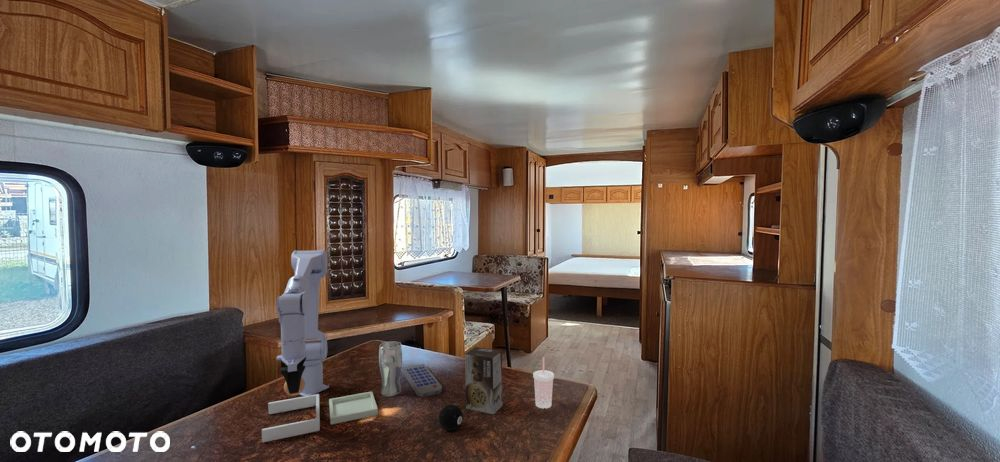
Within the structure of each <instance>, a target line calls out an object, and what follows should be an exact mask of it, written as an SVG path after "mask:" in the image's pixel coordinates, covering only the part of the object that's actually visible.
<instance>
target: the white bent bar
mask: <svg viewBox="0 0 1000 462" xmlns="http://www.w3.org/2000/svg"><path fill="white" fill-rule="evenodd" d="M267 407H268V415H273V414H279V413H285V412H291V411H294V410H296V411H297V410H300V409H307V408H311V407H315V418H311V419H307V420H306V419H305V420H302V421H296V422H292V423H290V422H289V423H286V424H285V423H284V424H280V425H276V426H270V427H266V428H261V443H262V444H263V443H266V442H267V443H268V442H271V441H276V440H282V439H285V438H290V437H291V438H292V437H296V436H301V435H304V434H305V435H306V434H309V433H315V432H319V431H320V429H321V427H320V426H321V423H320V422H321V420H320V414H321V413H320V394H319V393H316V394H313V395H310V396H299V397H294V398H288V399H282V400H276V401H270V402H268V403H267Z"/></svg>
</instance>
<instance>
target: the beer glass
mask: <svg viewBox="0 0 1000 462" xmlns="http://www.w3.org/2000/svg"><path fill="white" fill-rule="evenodd" d="M378 365H379V371H380V374H381V375H380V376H381V390H380V394H381V396H383V397H389V398H390V397H395V396H397V395H400V394H401V393H402V386H401V379H400V378H401V372H402V368H403V366H402V365H403V350H402V343H401V341H394V340H393V341H392V340H391V341H386V342H382V343H380V344H379V350H378Z"/></svg>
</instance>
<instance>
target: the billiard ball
mask: <svg viewBox="0 0 1000 462" xmlns="http://www.w3.org/2000/svg"><path fill="white" fill-rule="evenodd" d="M463 418H464V415H463V411H462V409H461V408H460V407H459V406H458V405H457V404H456V405H455V404H447V405H445V406H443V407H442V409H441V410H440V412H439V414H438V422H439V424H440V426H441V427H442V429H444V430H445V431H455V430H457V429H458V428H460V426H461V424H462V423H463V420H464V419H463Z"/></svg>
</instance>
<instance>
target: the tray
mask: <svg viewBox="0 0 1000 462" xmlns="http://www.w3.org/2000/svg"><path fill="white" fill-rule="evenodd" d="M328 405H329V406H328V407H329V418H330V420H329V421H330V422H329V423H330V425H336V424H340V423H345V422H349V421H354V420H361V419H364V418H369V417H375V416H378V415H379V413H378V412H379V410H378V409H379V408H378V405H377V402H376V400H375V396H374V393H373V390H372V391H368V392H367V391H366V392H361V393H360V392H359V393H355V394H351V395H344V396H340V397H332V398H329V399H328Z"/></svg>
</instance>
